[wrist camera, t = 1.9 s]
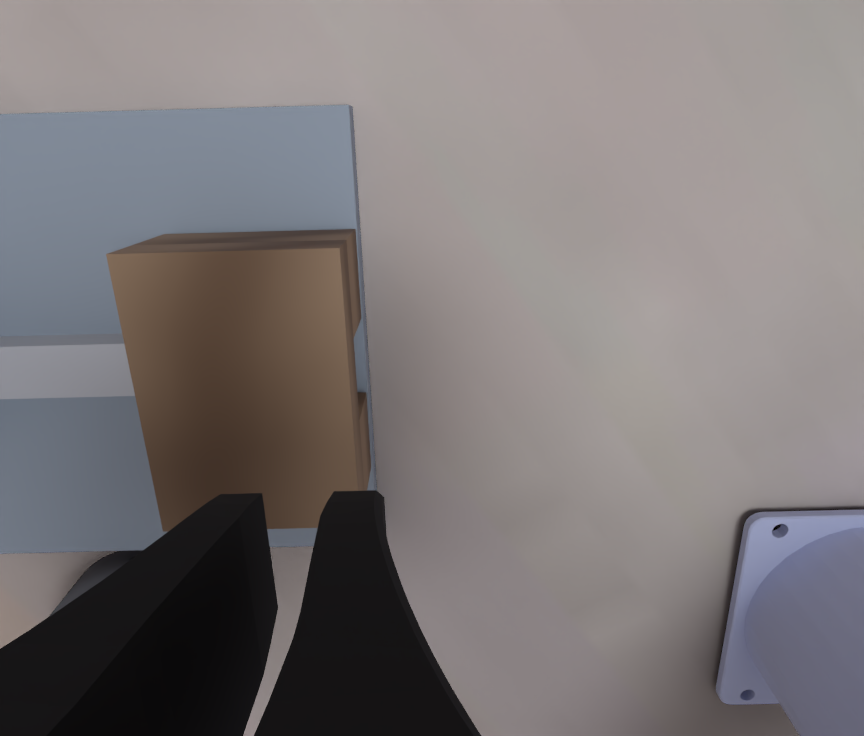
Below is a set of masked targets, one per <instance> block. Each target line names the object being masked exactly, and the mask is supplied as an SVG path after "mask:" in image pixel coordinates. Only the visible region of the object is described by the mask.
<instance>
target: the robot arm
mask: <svg viewBox="0 0 864 736" xmlns="http://www.w3.org/2000/svg"><path fill="white" fill-rule="evenodd" d="M779 524H781V526H780V528H778V529H777V530H773V528H774V527H775V526H776V525H779ZM772 530H773V531H772ZM277 610H278V605H277V598H276V590H275V583H274V576H273V569H272V561H271V554H270V547H269V539H268V532H267V525H266V518H265V510H264V503H263V496H262V493H245V494H220V495H218V496H217V497H215V498H213V499H212V500H210V501H209V502H207V503H206V504H205V505H203V506H202V507H200V508H199V509H198V510H196V511H195V512H194V513H192V514H191V515H190V516H188V517H187V518H185V519H184V520H183V521H182V522H180V523H179V524H178V525H176V526H175V527H174V528H172V529H171V530H170V531H168V532H167V533H166V534H164V535H163V536H162V537H160V538H159V539H158V540H156V541H155V542H154V543H152V544H151V545H150V546H148V547H147V548H146V549H144V550H143V551H142V552H140V553H139V554H138V555H136V556H135V557H133V558H132V559H131V560H129V561H128V562H127V563H125V564H124V565H123V566H121V567H120V568H119V569H117V570H116V571H115V572H113V573H112V574H111V575H109V576H108V577H106V578H105V579H104V580H102V581H101V582H99V583H98V584H96V585H95V586H93V587H92V588H90V589H89V590H88V591H86V592H85V593H83V594H82V595H80V596H79V597H77V598H76V599H74V600H73V601H72V602H70V603H69V604H67V605H66V606H64V607H63V608H61V609H60V610H58V611H57V612H55V613H54V614H53V615H51V616H50V617H48V618H47V619H45V620H44V621H42V622H41V623H39V624H38V625H37V626H35V627H34V628H32V629H31V630H29V631H28V632H26V633H24V634H23V635H21V636H20V637H18V638H17V639H15V640H14V641H12V642H10V643H9V644H7V645H6V646H4V647H2V648H1V649H0V736H243V734H244V731H245V728H246V725H247V722H248V719H249V716H250V713H251V710H252V707H253V704H254V702H255V699H256V696H257V693H258V690H259V687H260V684H261V681H262V678H263V675H264V670H265V666H266V661H267V657H268V653H269V648H270V644H271V639H272V634H273V629H274V624H275V619H276V614H277ZM744 690H745V691H744ZM716 692H717V694H718V696H719V698H720V700H721V701H722V702H723V703H725V704H730V705H742V704H780V705H781V707H782V708H783V710H784V711H785V713H786V715H787V716H788V718H789V719H790V721H791V723H792V724H793V726H794V727H795V729H796V731H797V732H798V734H799V735H800V736H864V509H861V510H820V511H780V512H759V513H755V514H753V515H751V516H750V517H749V518H748V519H747V520H746V522H745V524H744V528H743V534H742V540H741V545H740V551H739V557H738V563H737V568H736V574H735V580H734V586H733V591H732V597H731V603H730V609H729V615H728V620H727V626H726V632H725V638H724V643H723V649H722V655H721V661H720V666H719V672H718V678H717V684H716ZM254 736H481V735H480V733H479V732H478V730H477V729H476V727H475V725H474V724H473V722H472V721H471V719H470V717H469V716H468V714H467V712H466V711H465V709H464V708H463V706H462V704H461V703H460V701H459V699H458V698H457V696H456V694H455V693H454V691H453V689H452V688H451V686H450V684H449V682H448V680H447V679H446V677H445V675H444V673H443V672H442V670H441V668H440V666H439V664H438V663H437V661H436V659H435V657H434V655H433V653H432V651H431V649H430V647H429V645H428V643H427V641H426V639H425V637H424V635H423V633H422V631H421V629H420V627H419V624H418V622H417V620H416V618H415V616H414V613H413V611H412V609H411V607H410V604H409V602H408V600H407V597H406V595H405V592H404V590H403V587H402V585H401V582H400V579H399V576H398V573H397V570H396V567H395V564H394V562H393V559H392V556H391V552H390V549H389V545H388V541H387V537H386V521H385V505H384V497H383V496H382V495H381V494H380V493H379V492H377V491H376V490H367V491H334V492H333V493H332V495H331V497H330V498H329V500H328V501H327V503H326V505H325V507H324V509H323V511H322V513H321V515H320V519H319V524H318V528H317V533H316V538H315V543H314V548H313V553H312V558H311V562H310V567H309V572H308V577H307V582H306V587H305V592H304V597H303V602H302V607H301V612H300V616H299V619H298V623H297V627H296V630H295V634H294V637H293V640H292V643H291V646H290V648H289V651H288V653H287V656H286V658H285V661H284V664H283V666H282V669H281V671H280V674H279V677H278V679H277V682H276V684H275V687H274V689H273V692H272V695H271V697H270V700H269V702H268V705H267V707H266V709H265V711H264V714H263V716H262V718H261V721H260V723H259V725H258V728H257V730H256V732H255V735H254Z"/></svg>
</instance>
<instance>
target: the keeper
mask: <svg viewBox="0 0 864 736" xmlns="http://www.w3.org/2000/svg"><path fill="white" fill-rule="evenodd" d="M106 257H107V262H108V267H109V271H110V276H111V281H112V286H113V291H114V296H115V301H116V305H117V310H118V315H119V320H120V325H121V330H122V335H123V339H124V344H125V349H126V354H127V359H128V364H129V369H130V374H131V378H132V383H133V388H134V393H135V398H136V403H137V408H138V412H139V417H140V422H141V427H142V432H143V437H144V442H145V447H146V451H147V456H148V461H149V466H150V471H151V476H152V481H153V485H154V490H155V495H156V500H157V505H158V510H159V515H160V519H161V524H162V529H163V532H168V531H170V530H171V529H172V528H174V527H175V526H176V525H178V524H179V523H180V522H182V521H183V520H184V519H185V518H187V517H188V516H190V515H191V514H192V513H194V512H195V511H196V510H198V509H199V508H200V507H202V506H203V505H205V504H206V503H207V502H209V501H210V500H212V499H213V498H215V497H217V496H218V495H220V494H245V493H262V496H263V503H264V510H265V518H266V525H267V529H294V528H318V524H319V519H320V515H321V513H322V511H323V509H324V507H325V505H326V503H327V501H328V500H329V498H330V497H331V495H332V493H333V492H334V491H367V488H368V482H369V477H370V471H371V454H370V439H369V424H368V409H367V394H366V392H357V380H356V366H355V352H354V336H355V334H356V331H357V328H358V326H359V323H360V320H361V304H360V288H359V273H358V258H357V243H356V229H337V230H299V231H260V232H222V233H184V234H163V235H160V236H157V237H154V238H151V239H148V240H145V241H143V242H140V243H137V244H134V245H131V246H128V247H125V248H122V249H119V250H117V251H114V252H111V253H108V254H106Z"/></svg>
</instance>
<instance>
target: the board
mask: <svg viewBox="0 0 864 736" xmlns="http://www.w3.org/2000/svg"><path fill="white" fill-rule="evenodd" d="M337 229H356V243H357V258H358V273H359V288H360V304H361V320H360V323H359V326H358V328H357V331H356V334H355V336H354V352H355V366H356V380H357V392H366V394H367V409H368V424H369V439H370V454H371V471H370V477H369V482H368V488H367V490H376V491H377V483H376V467H375V452H374V436H373V420H372V405H371V389H370V373H369V358H368V342H367V326H366V311H365V295H364V279H363V264H362V248H361V232H360V217H359V201H358V185H357V170H356V154H355V138H354V123H353V107H352V106H350V105H324V106H287V107H250V108H213V109H176V110H139V111H102V112H65V113H28V114H0V554H7V553H48V552H89V551H131V550H144V549H146V548H147V547H148V546H150V545H151V544H152V543H154V542H155V541H156V540H158V539H159V538H160V537H162V536H163V535H164V534H166V533H167V532H163V529H162V524H161V519H160V515H159V510H158V505H157V500H156V495H155V490H154V485H153V481H152V476H151V471H150V466H149V461H148V456H147V451H146V447H145V442H144V437H143V432H142V427H141V422H140V417H139V412H138V408H137V403H136V398H135V393H134V388H133V383H132V378H131V374H130V369H129V364H128V359H127V354H126V349H125V344H124V339H123V335H122V330H121V325H120V320H119V315H118V310H117V305H116V301H115V296H114V291H113V286H112V281H111V276H110V271H109V267H108V262H107V257H106V254H108V253H111V252H114V251H117V250H119V249H122V248H125V247H128V246H131V245H134V244H137V243H140V242H143V241H145V240H148V239H151V238H154V237H157V236H160V235H163V234H184V233H222V232H260V231H299V230H337ZM267 532H268V539H269V547H295V546H314V543H315V538H316V533H317V528H294V529H267Z"/></svg>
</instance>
